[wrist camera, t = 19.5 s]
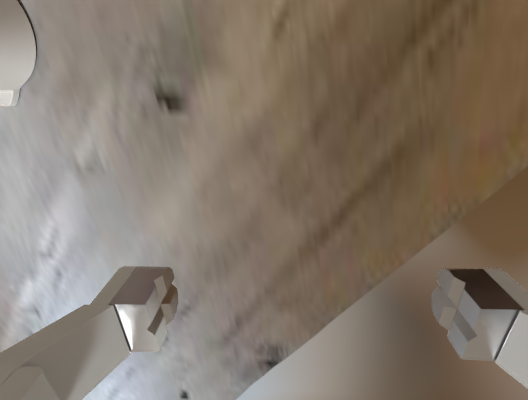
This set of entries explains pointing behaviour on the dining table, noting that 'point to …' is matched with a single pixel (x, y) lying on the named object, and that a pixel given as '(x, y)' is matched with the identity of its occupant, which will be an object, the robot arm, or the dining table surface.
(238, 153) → the dining table surface
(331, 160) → the dining table surface
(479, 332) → the robot arm
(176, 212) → the dining table surface
